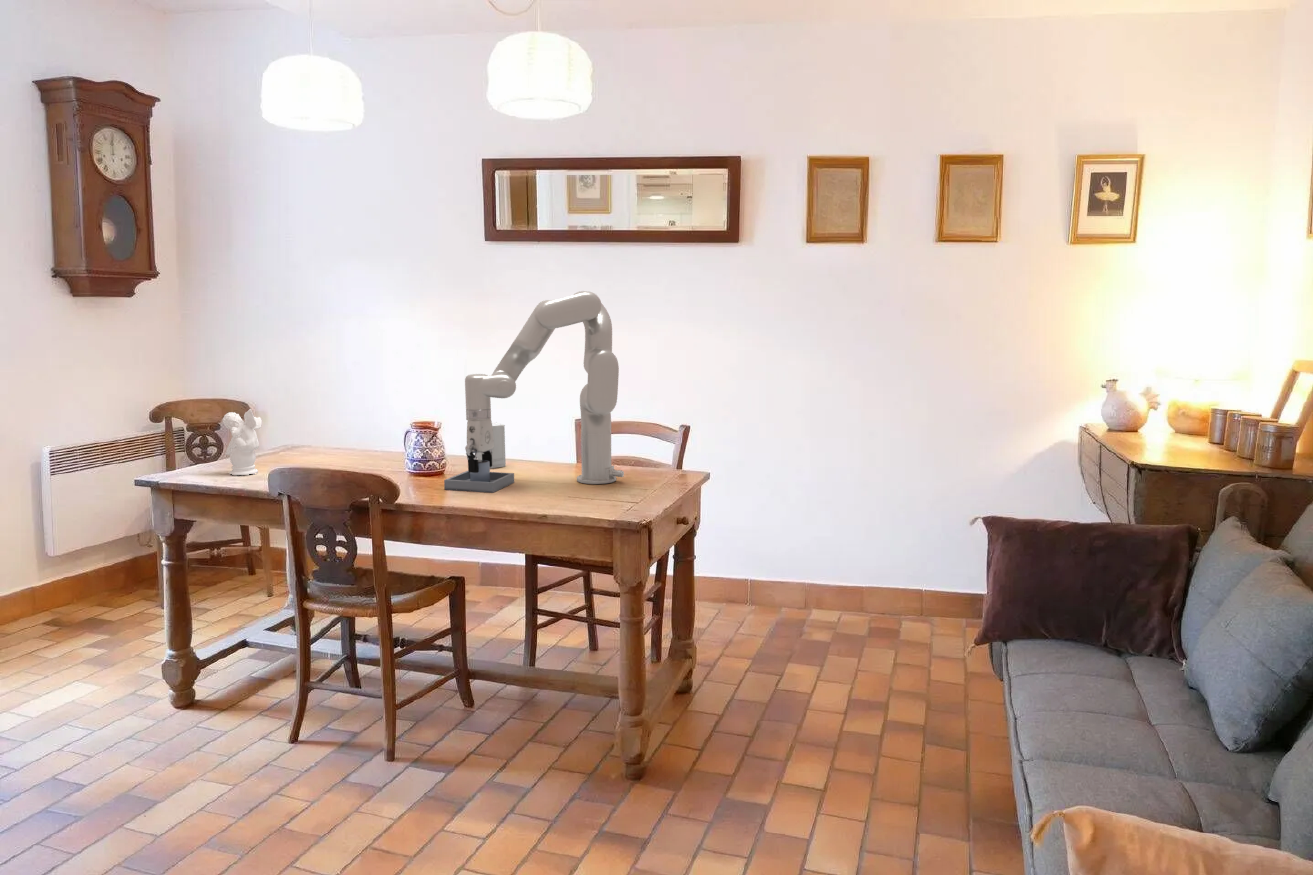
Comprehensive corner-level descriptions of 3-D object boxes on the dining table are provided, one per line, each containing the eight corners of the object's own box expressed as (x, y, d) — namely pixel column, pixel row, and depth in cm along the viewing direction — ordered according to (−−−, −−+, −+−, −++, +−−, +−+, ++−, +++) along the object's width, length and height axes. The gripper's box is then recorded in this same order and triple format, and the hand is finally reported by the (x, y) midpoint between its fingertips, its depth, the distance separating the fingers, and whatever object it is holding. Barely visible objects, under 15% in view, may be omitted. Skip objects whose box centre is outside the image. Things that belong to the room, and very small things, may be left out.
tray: (514, 482, 307) (514, 473, 306) (492, 492, 292) (492, 483, 291) (467, 479, 311) (467, 470, 310) (444, 489, 296) (444, 480, 295)
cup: (493, 482, 303) (492, 460, 302) (484, 486, 298) (484, 463, 296) (475, 481, 305) (475, 459, 304) (467, 485, 299) (466, 462, 298)
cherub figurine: (221, 474, 318) (216, 408, 315) (253, 468, 329) (249, 404, 325) (246, 477, 312) (241, 409, 309) (278, 471, 323) (273, 405, 319)
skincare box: (497, 464, 337) (496, 422, 335) (506, 467, 333) (505, 424, 330) (476, 467, 332) (475, 424, 330) (484, 469, 327) (483, 426, 325)
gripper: (477, 418, 289) (479, 475, 291) (501, 411, 305) (503, 464, 308) (454, 418, 290) (456, 474, 293) (479, 410, 307) (481, 463, 310)
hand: (480, 469), depth 300 cm, fingers open, 9 cm apart
